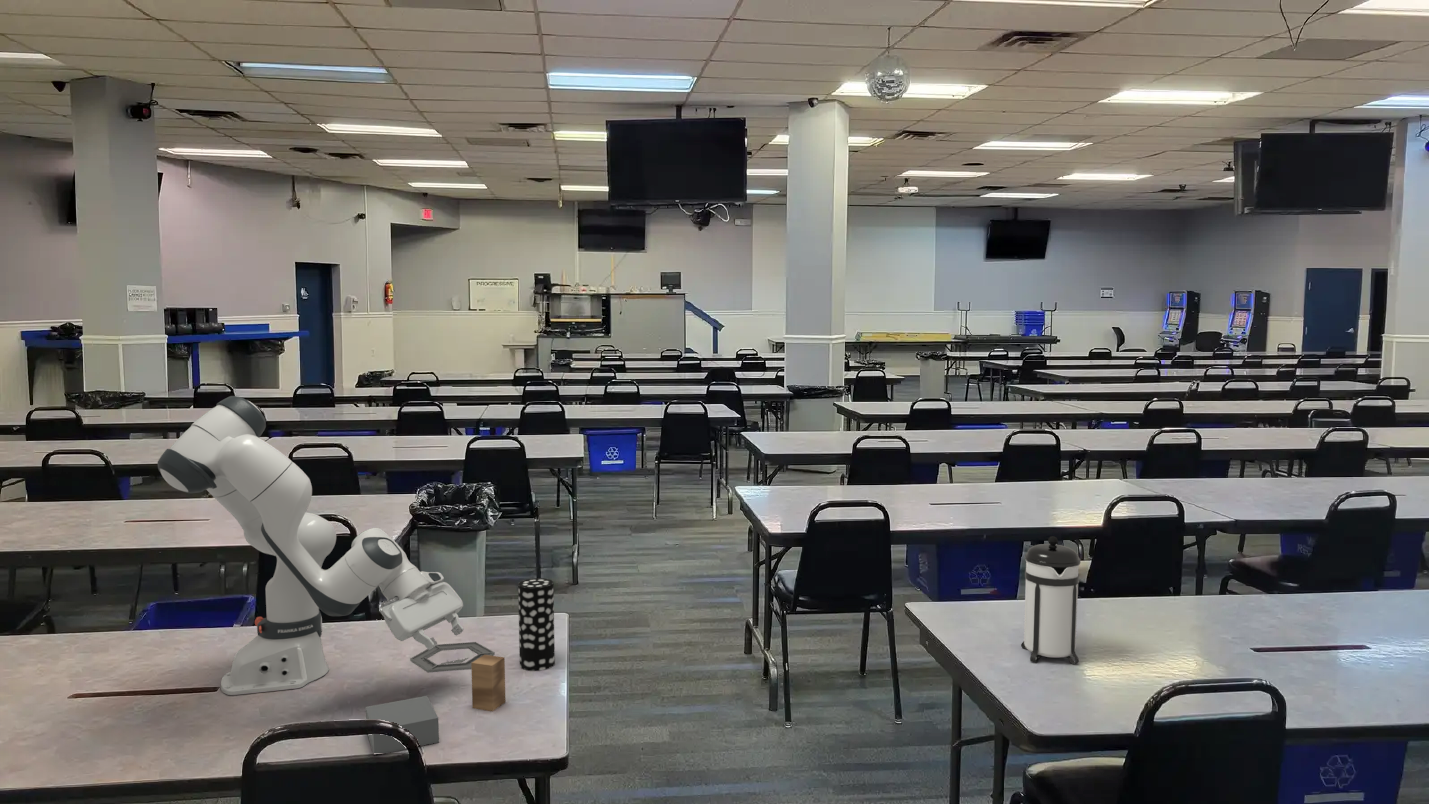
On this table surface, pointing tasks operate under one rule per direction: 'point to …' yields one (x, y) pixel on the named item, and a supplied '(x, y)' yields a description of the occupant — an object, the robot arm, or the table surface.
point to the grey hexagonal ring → (458, 665)
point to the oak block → (488, 682)
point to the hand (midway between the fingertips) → (447, 639)
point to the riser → (405, 722)
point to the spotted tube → (536, 624)
